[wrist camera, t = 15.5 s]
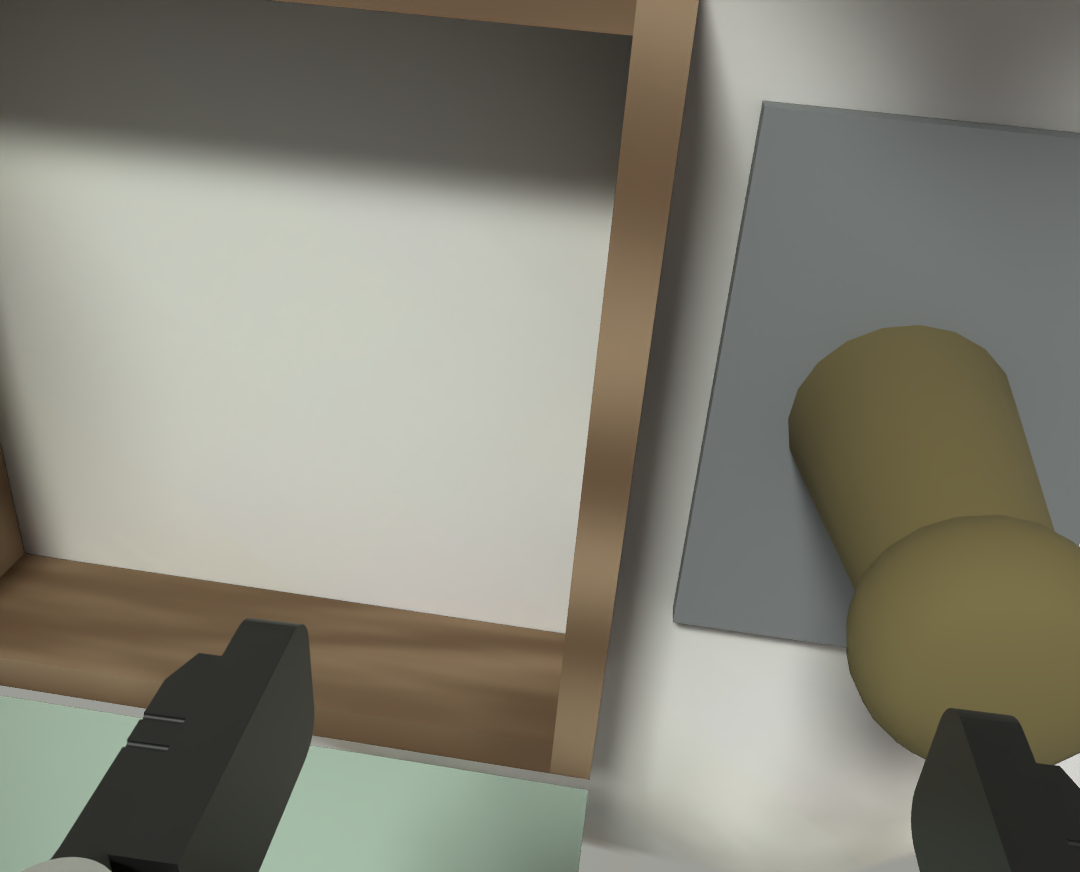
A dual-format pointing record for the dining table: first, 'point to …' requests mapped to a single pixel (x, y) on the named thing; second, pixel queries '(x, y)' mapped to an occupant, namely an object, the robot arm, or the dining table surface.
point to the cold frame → (393, 634)
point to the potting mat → (874, 329)
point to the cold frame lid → (299, 804)
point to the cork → (941, 538)
